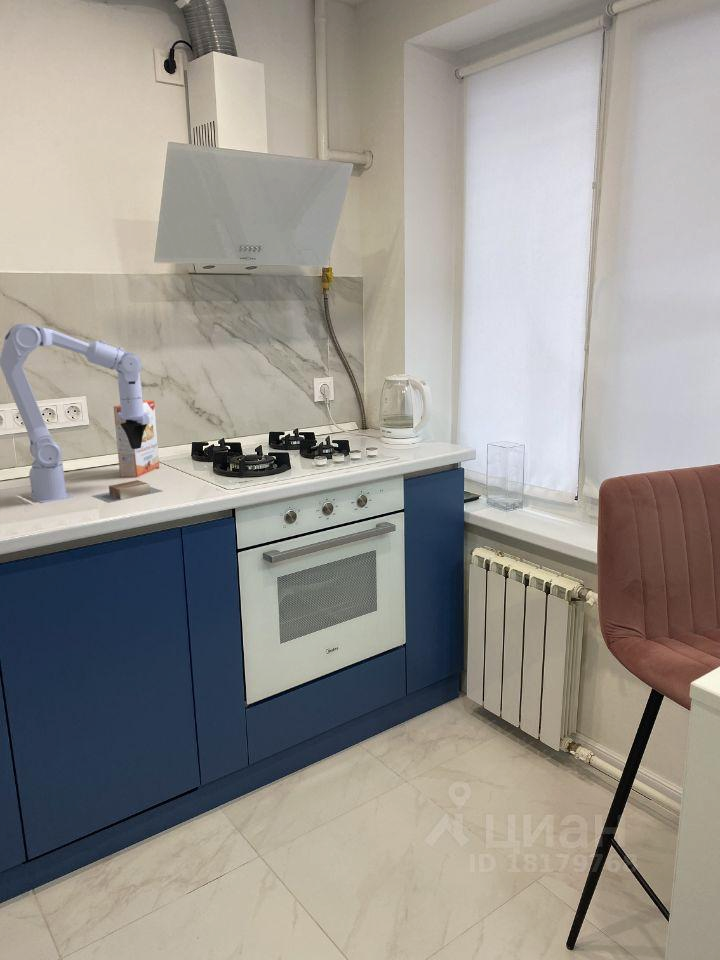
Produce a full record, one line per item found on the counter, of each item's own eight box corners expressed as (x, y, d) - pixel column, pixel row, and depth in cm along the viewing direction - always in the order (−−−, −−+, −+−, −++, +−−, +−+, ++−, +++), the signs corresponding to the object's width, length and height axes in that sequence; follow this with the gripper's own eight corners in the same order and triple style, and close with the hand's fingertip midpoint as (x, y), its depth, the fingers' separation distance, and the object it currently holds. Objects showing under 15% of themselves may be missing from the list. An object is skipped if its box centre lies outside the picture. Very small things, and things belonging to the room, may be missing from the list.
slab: (108, 485, 185) (120, 489, 180) (137, 480, 190) (149, 483, 186) (109, 495, 186) (121, 499, 181) (138, 489, 191) (150, 493, 186)
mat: (91, 497, 186) (91, 495, 185) (145, 486, 196) (145, 485, 195) (108, 504, 178) (108, 502, 178) (163, 492, 189) (163, 491, 188)
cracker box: (138, 478, 205) (131, 405, 200) (119, 478, 207) (111, 405, 202) (161, 468, 219) (154, 399, 214) (143, 467, 220) (136, 399, 215)
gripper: (158, 398, 189) (163, 449, 192) (132, 394, 199) (137, 443, 202) (133, 401, 184) (138, 453, 187) (108, 397, 194) (113, 446, 197)
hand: (136, 448), depth 194 cm, fingers closed
